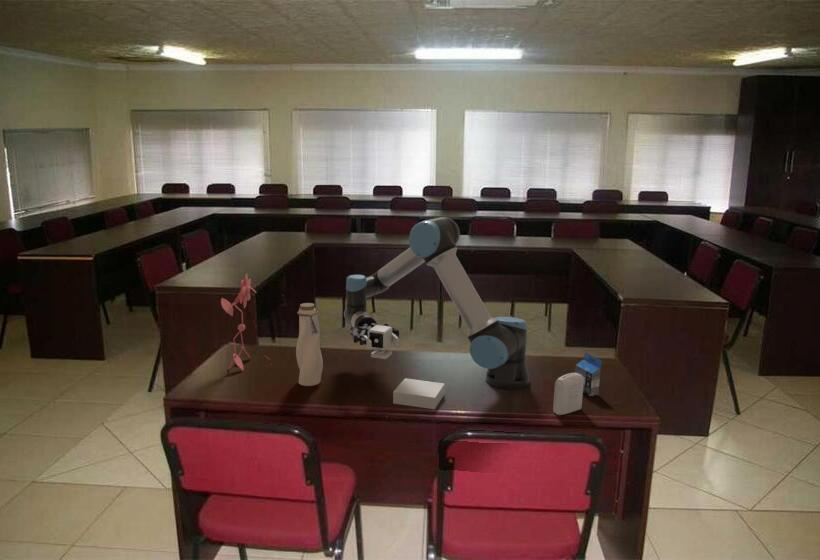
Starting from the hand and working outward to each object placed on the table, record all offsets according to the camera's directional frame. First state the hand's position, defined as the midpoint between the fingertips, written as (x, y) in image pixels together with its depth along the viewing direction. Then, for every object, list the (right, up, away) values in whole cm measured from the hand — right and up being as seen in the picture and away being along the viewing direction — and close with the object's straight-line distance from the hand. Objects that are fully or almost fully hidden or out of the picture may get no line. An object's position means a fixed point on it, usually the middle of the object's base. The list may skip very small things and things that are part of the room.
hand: (384, 343), depth 201 cm
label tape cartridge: (+69, -17, +9) cm, 71 cm away
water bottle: (-26, -15, +14) cm, 33 cm away
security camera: (-1, -5, +6) cm, 8 cm away
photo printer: (+58, -21, -6) cm, 62 cm away
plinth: (+12, -18, +1) cm, 22 cm away
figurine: (-51, -11, +29) cm, 60 cm away
